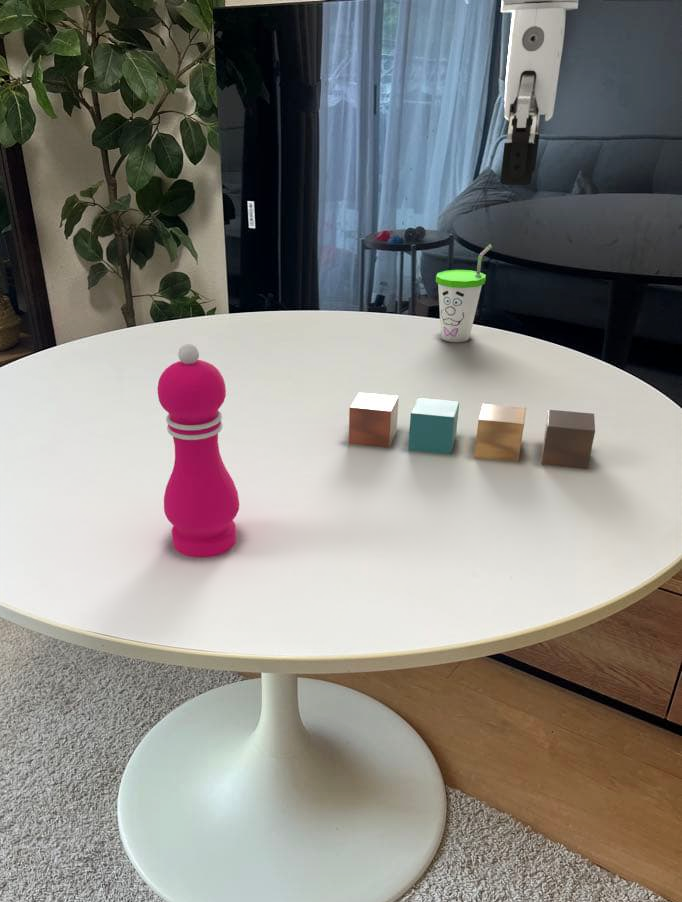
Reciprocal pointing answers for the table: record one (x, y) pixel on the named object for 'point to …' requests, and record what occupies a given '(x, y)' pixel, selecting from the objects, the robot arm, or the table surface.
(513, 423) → the oak block
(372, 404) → the cherry block
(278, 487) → the table surface
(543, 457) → the walnut block
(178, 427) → the pepper mill
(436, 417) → the teal block
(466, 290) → the cup
